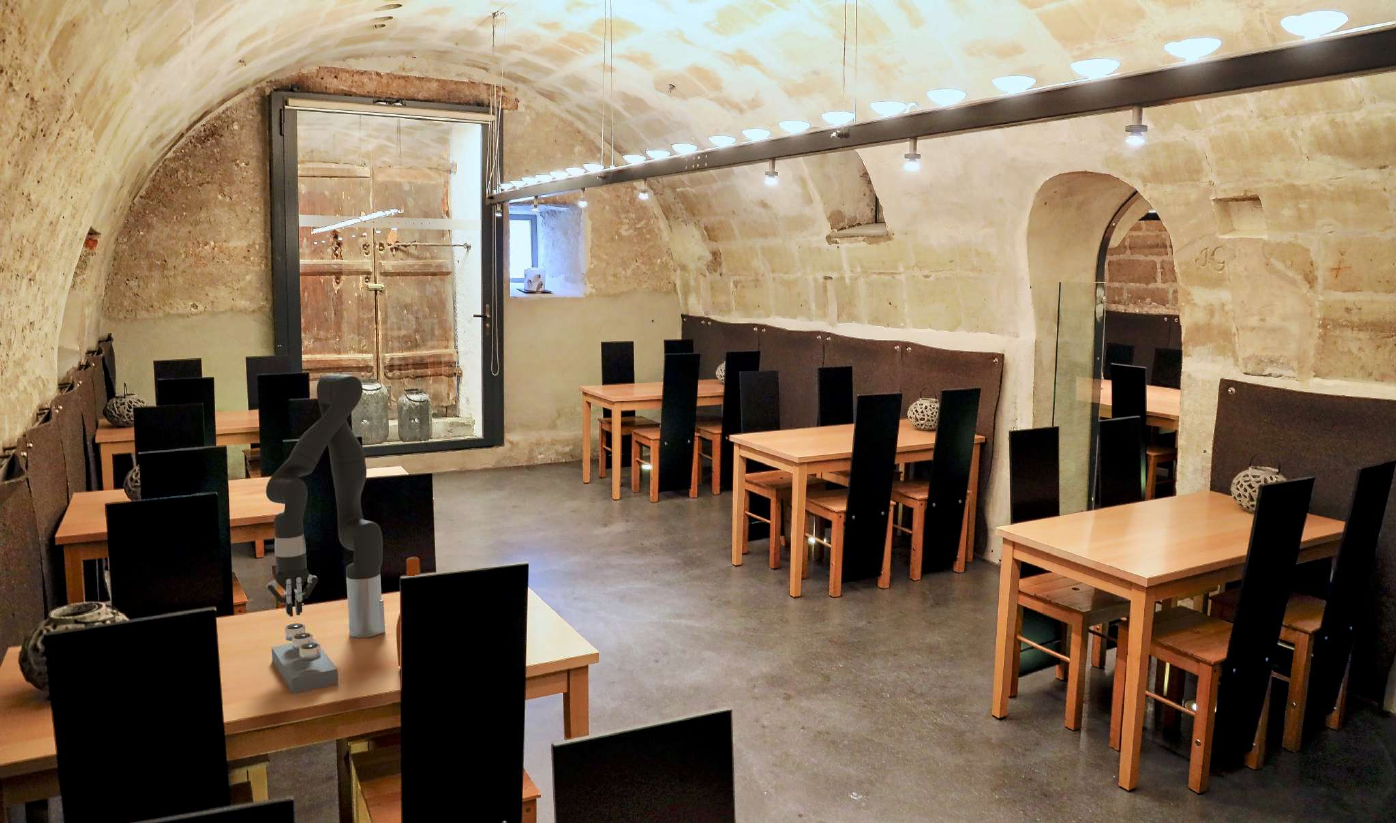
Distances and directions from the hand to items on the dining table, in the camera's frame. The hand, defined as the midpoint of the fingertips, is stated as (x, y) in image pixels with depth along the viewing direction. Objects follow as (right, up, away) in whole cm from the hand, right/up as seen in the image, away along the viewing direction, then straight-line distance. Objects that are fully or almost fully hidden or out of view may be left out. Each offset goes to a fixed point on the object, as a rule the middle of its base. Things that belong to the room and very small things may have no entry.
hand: (294, 615), depth 273 cm
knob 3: (+9, -8, -13) cm, 18 cm away
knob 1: (0, -6, +1) cm, 6 cm away
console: (+5, -14, -5) cm, 16 cm away
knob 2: (+5, -7, -6) cm, 11 cm away
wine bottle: (+33, -14, -3) cm, 36 cm away
